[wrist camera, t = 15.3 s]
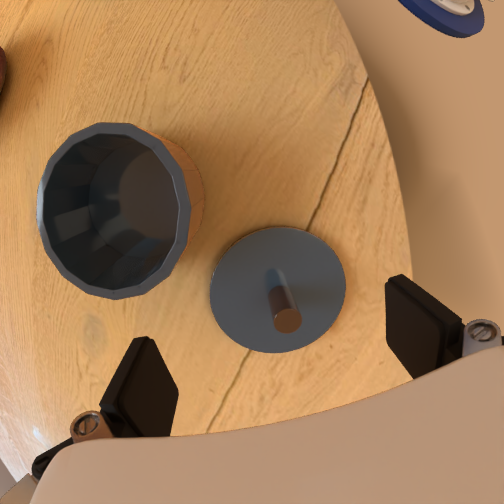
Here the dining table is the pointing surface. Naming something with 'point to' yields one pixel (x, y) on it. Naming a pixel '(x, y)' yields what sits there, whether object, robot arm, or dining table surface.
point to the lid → (277, 289)
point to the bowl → (2, 68)
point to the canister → (118, 209)
